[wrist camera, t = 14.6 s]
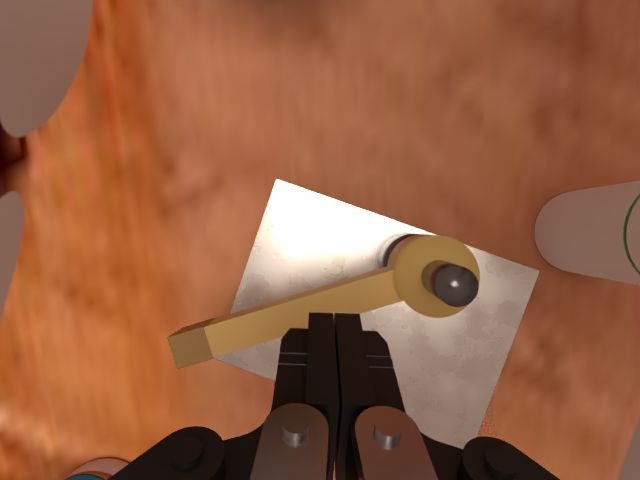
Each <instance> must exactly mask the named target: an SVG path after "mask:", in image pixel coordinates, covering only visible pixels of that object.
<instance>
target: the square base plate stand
mask: <svg viewBox="0 0 640 480" xmlns="http://www.w3.org/2000/svg"><path fill="white" fill-rule="evenodd" d="M419 234H426V235H436V234H433V233H430V232H427V231H424V230H421V229H418V228H416V227H413V226H410V225H407V224H404V223H401V222H398V221H396V220H393V219H390V218H387V217H384V216H381V215H378V214H376V213H373V212H370V211H367V210H364V209H361V208H358V207H356V206H353V205H350V204H347V203H344V202H341V201H338V200H336V199H333V198H330V197H327V196H324V195H321V194H318V193H316V192H313V191H310V190H307V189H304V188H301V187H298V186H296V185H293V184H290V183H287V182H284V181H281V180H278V179H276V181H275V184H274V187H273V190H272V193H271V196H270V199H269V202H268V205H267V207H266V210H265V213H264V216H263V219H262V222H261V225H260V228H259V231H258V234H257V236H256V239H255V242H254V245H253V248H252V251H251V254H250V257H249V260H248V263H247V265H246V268H245V271H244V274H243V277H242V280H241V283H240V286H239V289H238V292H237V294H236V297H235V300H234V303H233V306H232V309H231V312H230V314H232V313H235V312H239V311H242V310H245V309H248V308H252V307H255V306H258V305H262V304H265V303H268V302H271V301H275V300H278V299H281V298H285V297H288V296H291V295H295V294H298V293H301V292H304V291H308V290H311V289H314V288H318V287H321V286H324V285H327V284H331V283H334V282H337V281H341V280H344V279H347V278H351V277H354V276H357V275H360V274H364V273H367V272H370V271H374V270H377V269H380V268H383V267H387V264H388V259H389V256H390V254H391V252H392V251H393V249H394V248H395V247H396V245H397V244H398V243H400V242H401V241H402V240H404V239H406V238H407V237H410V236H413V235H419ZM465 246H467V245H465ZM467 247H468V248H469V249H470V251H471V252H472V253H473V255H474V256H475V258H476V260H477V263H478V266H479V270H480V282H479V284H478V280H477V277H476V276H475V274H474V273H473V272H472V271H471V270H469V269H468V268H465V267H462V266H459V265H456V264H453V263H450V262H447V261H443V260H436V261H432V262H430V263H429V264H428V265H426V267H425V268H424V270H423V272H422V283H423V285H424V287H425V288H426V290H428V291H429V292H430V293H432V294H433V295H434V296H436V297H437V298H439V299H440V300H441V301H443V302H444V303H446V304H447V305H449V306H452V307H463V306H466V305H468V304H469V305H468V306H467V307H466V308H465V309H463V310H462V311H460V312H459V313H457V314H455V315H452V316H448V317H443V318H433V317H427V316H424V315H422V314H419V313H417V312H416V311H414V310H413V309H412V308H410V307H409V306H408V305H407V304H406V303H405V302H404V300H403V301H402V302H398V303H395V304H391V305H388V306H385V307H381V308H378V309H375V310H371V311H368V312H365V313H361V314H360V318H361V324H362V329H363V331H377V332H378V333H379V334H380V335H381V336H382V337H383V338H384V339H385V341H386V342H387V344H388V347H389V351H390V355H391V359H392V362H393V366H394V367H393V368H394V370H395V374H396V377H397V381H398V385H399V389H400V393H401V396H402V400H403V404H404V408H405V411H406V414H407V415H408V416H409V417H411V418H412V419H413V421H414V422H415V423H416V425H417V426H418V428H419V430H420V432H422V433H423V434H425V435H426V436H428V437H430V438H432V439H434V440H436V441H439V442H442V443H445V444H448V445H451V446H454V447H458V448H461V449H463V448H464V446H465V445H466V443H467V442H468V441H470V440H471V439H473V438H476V437H477V434H478V432H479V429H480V426H481V424H482V421H483V418H484V416H485V413H486V411H487V408H488V405H489V403H490V400H491V398H492V395H493V392H494V390H495V387H496V384H497V382H498V379H499V377H500V374H501V371H502V369H503V366H504V363H505V361H506V358H507V356H508V353H509V350H510V348H511V345H512V343H513V340H514V337H515V335H516V332H517V329H518V327H519V324H520V322H521V319H522V316H523V314H524V311H525V308H526V306H527V303H528V301H529V298H530V295H531V293H532V290H533V288H534V285H535V282H536V280H537V277H538V274H539V272H540V271H538V270H535V269H533V268H530V267H527V266H524V265H521V264H518V263H515V262H513V261H510V260H507V259H504V258H501V257H498V256H496V255H493V254H490V253H487V252H484V251H481V250H478V249H476V248H473V247H470V246H467ZM281 339H282V337H281V338H277V339H274V340H270V341H267V342H264V343H260V344H257V345H254V346H250V347H247V348H244V349H240V350H237V351H233V352H230V353H227V354H223V355H220V356H217V357H215V358H214V359H217V360H220V361H222V362H225V363H228V364H230V365H233V366H236V367H238V368H241V369H244V370H246V371H249V372H252V373H255V374H257V375H260V376H263V377H265V378H268V379H271V380H273V381H276V374H277V367H278V360H279V354H280V345H281Z"/></svg>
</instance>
